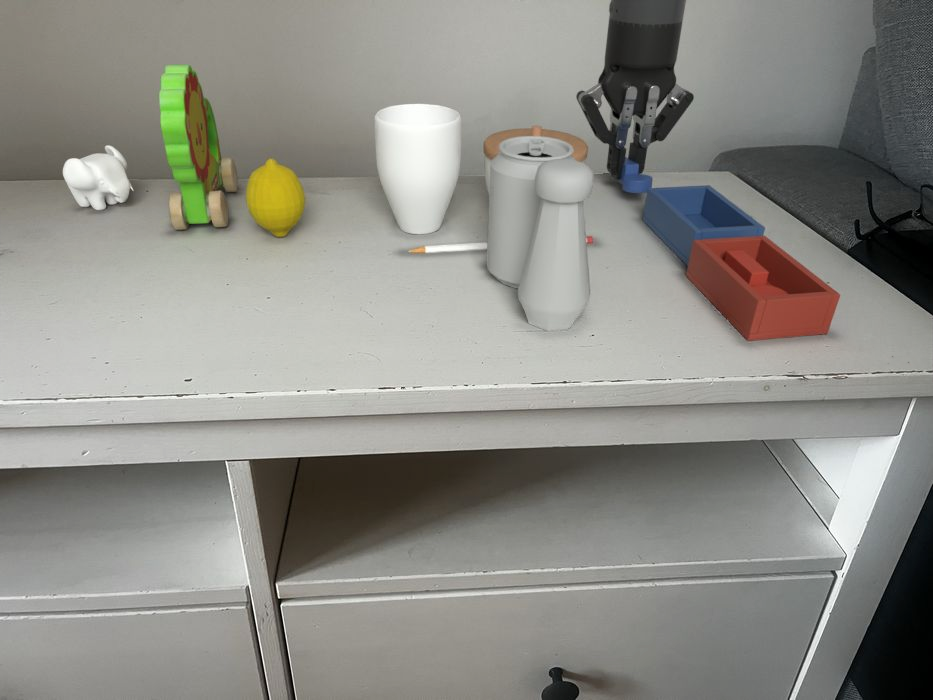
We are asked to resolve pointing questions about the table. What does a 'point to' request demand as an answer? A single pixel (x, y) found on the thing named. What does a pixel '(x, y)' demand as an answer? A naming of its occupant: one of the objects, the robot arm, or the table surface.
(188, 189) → the toy lion
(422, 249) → the pencil
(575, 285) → the salt shaker
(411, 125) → the mug
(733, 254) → the red spoon
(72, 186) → the elephant figurine
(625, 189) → the blue spoon
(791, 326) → the red bin
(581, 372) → the table surface
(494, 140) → the trinket box
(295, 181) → the fruit
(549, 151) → the can
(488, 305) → the table surface
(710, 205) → the blue bin
